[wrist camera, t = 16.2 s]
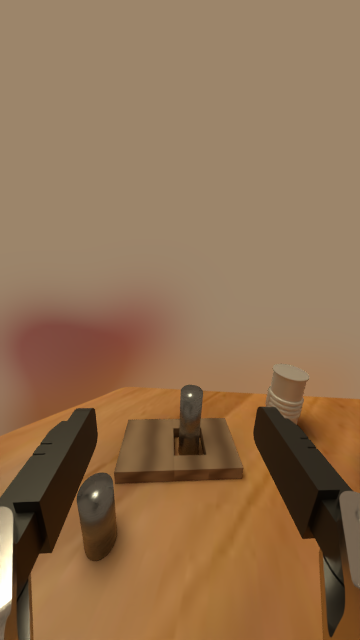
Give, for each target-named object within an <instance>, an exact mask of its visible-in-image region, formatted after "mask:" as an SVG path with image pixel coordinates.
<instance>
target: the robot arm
mask: <svg viewBox="0 0 360 640" xmlns="http://www.w3.org/2000/svg"><path fill="white" fill-rule="evenodd" d="M253 434H254V440H255V444H256V446H257V448H258V450H259V452H260V454H261V456H262V458H263V460H264V462H265V464H266V466H267V468H268V470H269V472H270V474H271V476H272V478H273V480H274V482H275V484H276V486H277V488H278V490H279V492H280V494H281V496H282V498H283V500H284V502H285V504H286V506H287V508H288V510H289V513H290V515H291V517H292V519H293V521H294V523H295V525H296V527H297V529H298V531H299V533H300V535H301V537H302V539H308V538H315V539H316V541H317V543H318V545H319V547H320V550H319V568H320V589H321V609H322V629H323V640H360V493H357V492H353V491H352V489H351V488H350V487H349V486H348V485H347V484H346V482H345V481H344V480H343V479H342V478H341V476H340V475H339V474H338V473H337V472H336V470H335V469H334V468H333V467H332V466H331V464H330V463H329V462H328V461H327V460H326V458H325V457H324V456H323V455H322V454H321V452H320V451H319V450H318V449H316V446H315V445H314V444H313V443H312V442H311V440H309V439H308V437H307V436H306V434H305V433H304V432H303V431H302V430H301V428H300V427H299V426H298V425H296V424H295V423H294V422H292V421H291V420H290V419H288V418H284V417H283V415H282V414H281V413H280V412H279V410H278V409H277V408H276V407H258V409H257V414H256V420H255V425H254V432H253ZM97 436H98V433H97V423H96V414H95V409H94V408H78V409H76V410H75V411H74V412H73V414H72V415H71V416H70V418H69V419H68V421H61V422H60V423H59V424H58V425H57V426H55V427H54V428H53V429H52V430H50V431H49V433H48V434H47V435H46V437H45V438H44V439H43V441H42V442H41V444H40V446H38V447H37V449H36V450H35V451H34V453H33V455H32V456H31V457H30V458H29V460H28V461H27V462H26V464H25V465H24V466H23V468H22V469H21V470H20V472H19V473H18V474H17V476H16V477H15V478H14V480H13V481H12V482H11V484H10V485H9V486H8V488H7V489H6V491H5V492H4V493H3V495H2V496H1V497H0V640H34V639H33V615H32V590H31V570H32V568H33V566H34V564H35V562H36V559H37V557H38V555H39V554H41V553H52V551H53V549H54V546H55V544H56V541H57V539H58V537H59V534H60V532H61V529H62V527H63V525H64V522H65V520H66V517H67V515H68V513H69V510H70V508H71V505H72V503H73V500H74V498H75V496H76V493H77V491H78V488H79V486H80V484H81V481H82V479H83V476H84V474H85V472H86V469H87V467H88V464H89V462H90V460H91V457H92V455H93V452H94V450H95V447H96V443H97Z"/></svg>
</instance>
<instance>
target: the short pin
mask: <svg viewBox="0 0 360 640" xmlns="http://www.w3.org/2000/svg"><path fill="white" fill-rule="evenodd" d="M77 505H78V511H79V517H80V523H81V530H82V536H83V542H84V548H85V553H86V556H87V557H88V558H89V559H90V560H92V561H98V560H101V559H102V558H104V557H105V556H106V555H107V554H108V553H109V552H110V551H111V549H112V548H113V546H114V543H115V541H116V537H117V525H116V513H115V501H114V489H113V480H112V478H111V476H110V475H109V474H107V473H97V474H94V475H92V476H90V477H89V478H88V479H87V480H86V481H85V482H84V483H83V484H82V486H81V487H80V489H79V491H78V494H77Z"/></svg>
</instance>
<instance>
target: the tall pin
mask: <svg viewBox="0 0 360 640" xmlns="http://www.w3.org/2000/svg"><path fill="white" fill-rule="evenodd" d="M202 398H203V391H202V389H201V388H200V387H198V386H195V385H186V386H184V387H183V388H182V389H181V401H180V425H179V448H178V452H179V455H180V456H183V455H198V447H199V435H200V423H201V410H202Z"/></svg>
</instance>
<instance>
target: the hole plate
mask: <svg viewBox="0 0 360 640" xmlns="http://www.w3.org/2000/svg"><path fill="white" fill-rule="evenodd" d="M179 425H180V419H145V420H128V424H127V427H126V431H125V435H124V438H123V442H122V446H121V449H120V453H119V457H118V460H117V464H116V468H115V471H114V476H115V483H138V482H164V481H189V480H215V479H241V478H242V473H243V465H242V463H241V460H240V457H239V455H238V452H237V449H236V447H235V444H234V442H233V439H232V436H231V434H230V431H229V428H228V426H227V423H226V420H225V418H205V419H201V423H200V435H199V437H200V438H201V444H202V449H203V454H204V455H183V456H174V437H179Z"/></svg>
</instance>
